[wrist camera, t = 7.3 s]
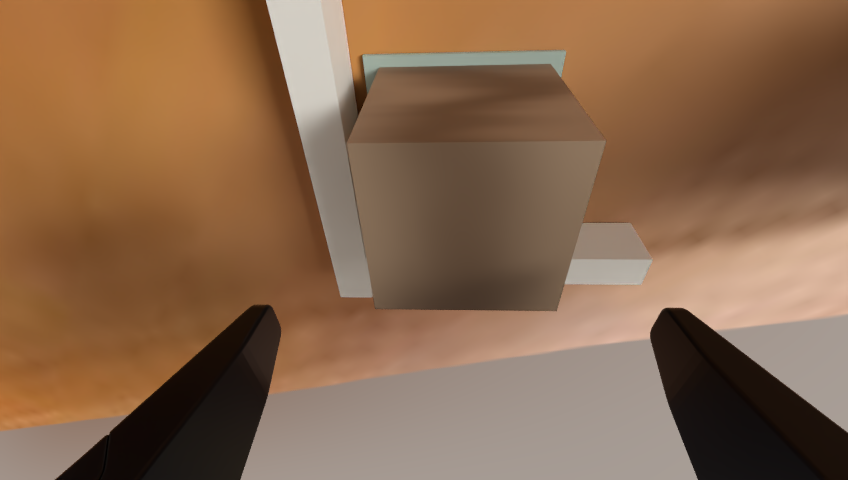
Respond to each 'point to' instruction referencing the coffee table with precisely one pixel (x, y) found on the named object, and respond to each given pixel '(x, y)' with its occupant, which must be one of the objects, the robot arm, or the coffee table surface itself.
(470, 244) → the walnut cube
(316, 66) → the white angled bracket
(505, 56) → the pad
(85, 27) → the coffee table surface
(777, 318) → the coffee table surface
